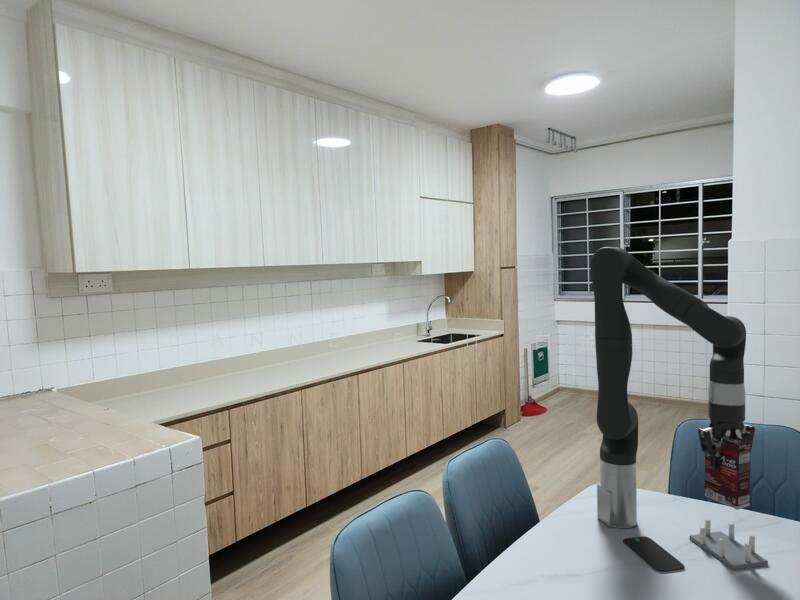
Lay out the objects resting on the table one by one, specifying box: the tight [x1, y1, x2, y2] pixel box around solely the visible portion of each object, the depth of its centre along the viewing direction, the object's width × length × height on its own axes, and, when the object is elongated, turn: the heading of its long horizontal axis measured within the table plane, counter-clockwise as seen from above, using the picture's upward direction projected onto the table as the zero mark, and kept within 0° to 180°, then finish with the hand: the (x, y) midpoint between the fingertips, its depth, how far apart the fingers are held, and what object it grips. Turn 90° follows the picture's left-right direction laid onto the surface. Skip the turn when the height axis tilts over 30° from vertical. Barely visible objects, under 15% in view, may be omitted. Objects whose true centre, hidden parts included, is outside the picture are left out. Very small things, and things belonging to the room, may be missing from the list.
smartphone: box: [622, 535, 686, 574], centre depth 126 cm, size 8×1×15 cm
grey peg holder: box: [689, 518, 769, 571], centre depth 126 cm, size 9×14×5 cm
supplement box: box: [704, 433, 752, 510], centre depth 125 cm, size 9×5×16 cm, turn 22°
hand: (726, 469), depth 125 cm, fingers closed on supplement box, 5 cm apart
